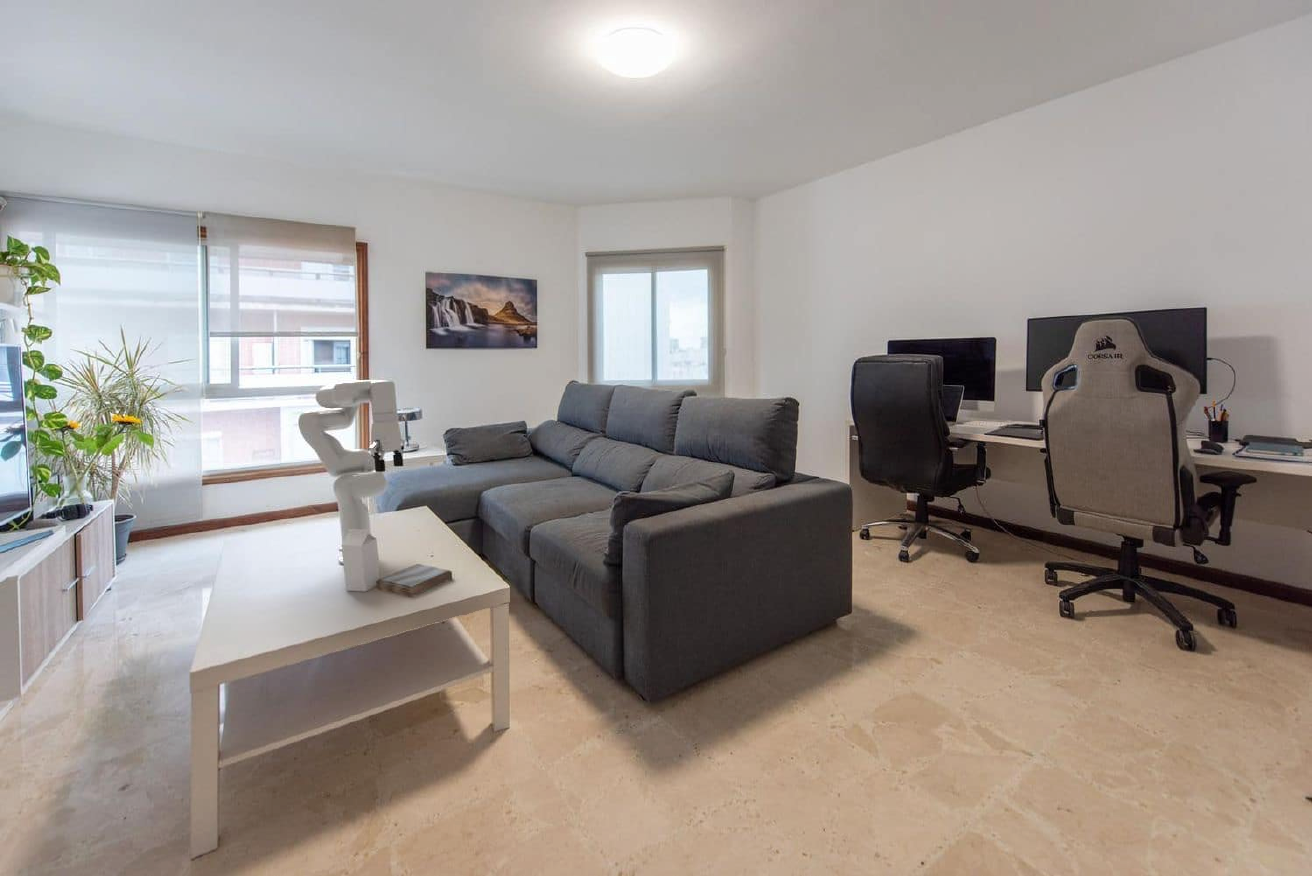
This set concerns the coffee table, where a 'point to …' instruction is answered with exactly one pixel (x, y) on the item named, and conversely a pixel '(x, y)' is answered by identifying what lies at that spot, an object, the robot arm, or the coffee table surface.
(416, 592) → the framed mirror
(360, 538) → the milk carton
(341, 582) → the coffee table surface
